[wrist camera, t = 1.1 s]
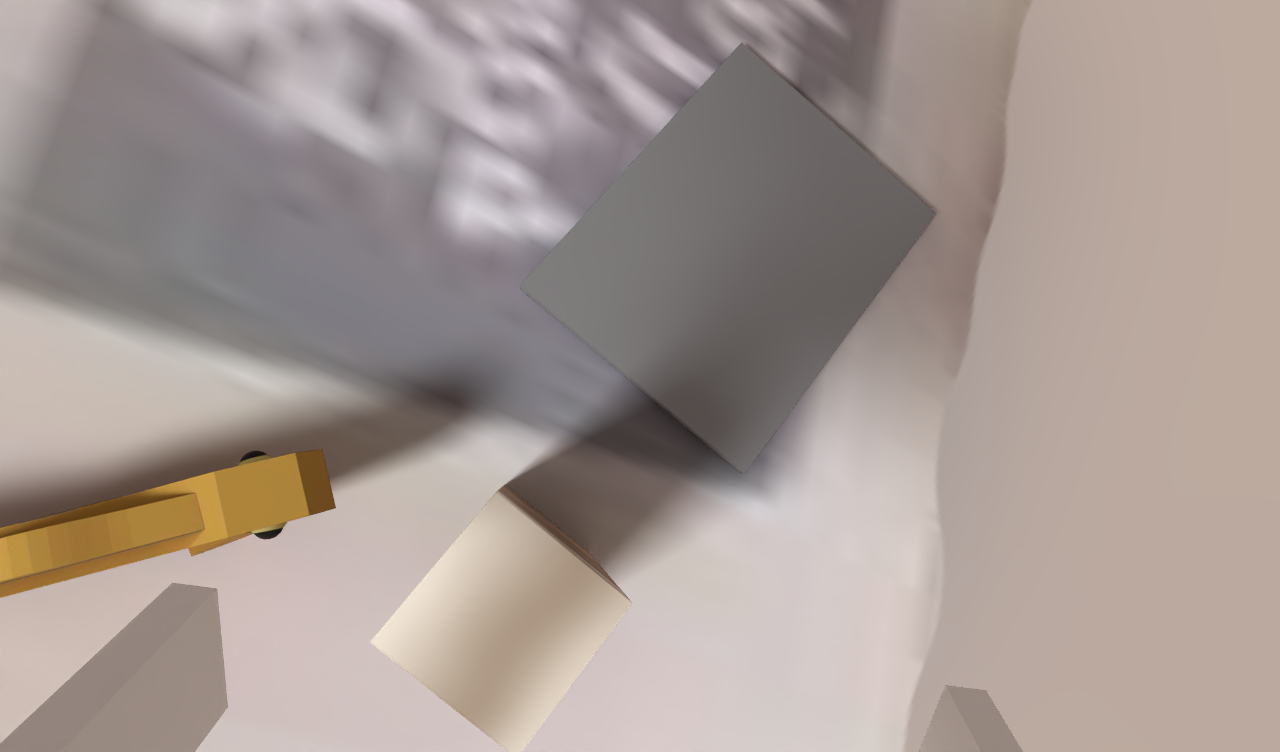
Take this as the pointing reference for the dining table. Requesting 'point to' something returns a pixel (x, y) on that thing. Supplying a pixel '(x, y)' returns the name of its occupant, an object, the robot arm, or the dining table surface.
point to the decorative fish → (166, 520)
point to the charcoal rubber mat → (732, 256)
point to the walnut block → (505, 620)
